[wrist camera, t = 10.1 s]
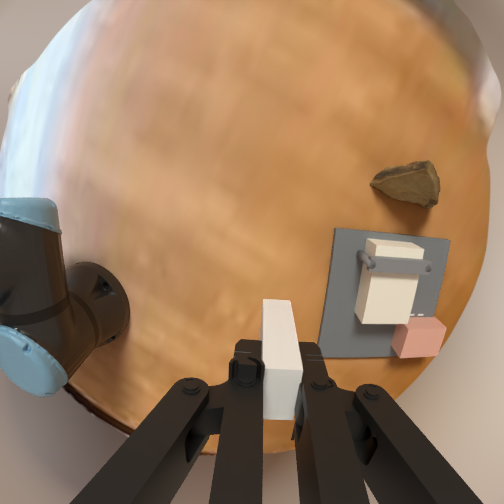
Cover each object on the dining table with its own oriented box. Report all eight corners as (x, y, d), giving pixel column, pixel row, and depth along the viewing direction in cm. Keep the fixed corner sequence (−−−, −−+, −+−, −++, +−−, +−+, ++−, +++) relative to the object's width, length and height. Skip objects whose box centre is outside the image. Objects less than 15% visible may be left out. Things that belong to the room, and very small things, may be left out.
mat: (315, 354, 51) (316, 357, 50) (334, 227, 45) (336, 228, 44) (419, 352, 50) (421, 355, 49) (447, 239, 45) (450, 240, 44)
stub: (390, 344, 49) (399, 358, 45) (398, 317, 48) (408, 329, 43) (426, 343, 49) (437, 355, 44) (435, 317, 47) (446, 328, 43)
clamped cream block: (346, 310, 47) (356, 327, 42) (358, 237, 44) (370, 246, 39) (403, 312, 47) (417, 327, 42) (418, 243, 44) (435, 252, 39)
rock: (453, 193, 41) (426, 140, 38) (459, 224, 35) (430, 164, 32) (399, 215, 48) (369, 168, 45) (396, 247, 43) (362, 196, 40)
